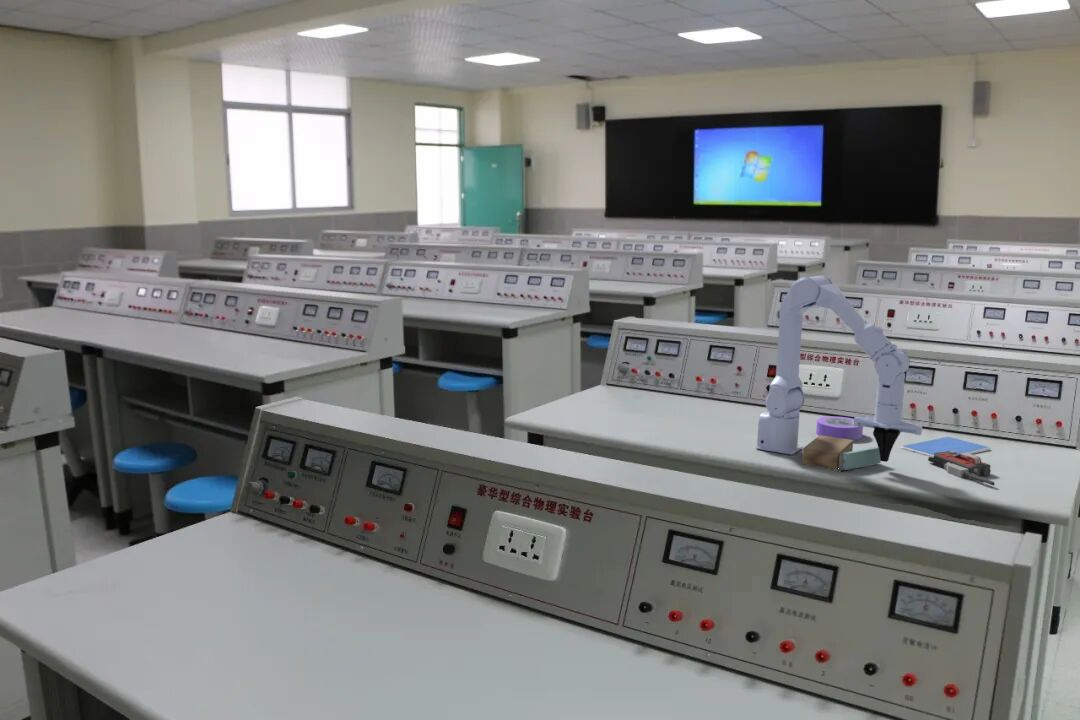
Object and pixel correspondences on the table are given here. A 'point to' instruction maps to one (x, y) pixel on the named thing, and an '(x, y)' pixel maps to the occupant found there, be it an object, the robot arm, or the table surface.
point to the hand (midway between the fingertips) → (884, 460)
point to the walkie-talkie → (962, 465)
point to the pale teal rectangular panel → (861, 458)
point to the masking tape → (838, 428)
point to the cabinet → (826, 452)
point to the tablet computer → (944, 446)
